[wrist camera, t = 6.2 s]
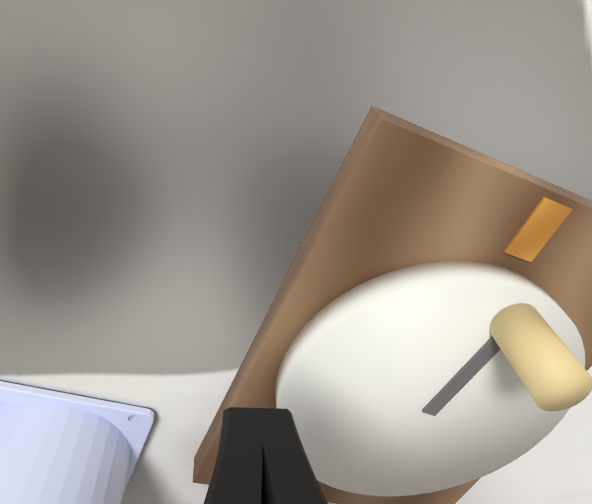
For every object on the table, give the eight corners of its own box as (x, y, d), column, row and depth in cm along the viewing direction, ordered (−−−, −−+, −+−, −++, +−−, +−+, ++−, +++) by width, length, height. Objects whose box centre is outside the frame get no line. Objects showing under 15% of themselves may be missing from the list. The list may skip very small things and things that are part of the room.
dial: (443, 490, 29) (479, 586, 24) (225, 436, 24) (223, 544, 20) (627, 324, 23) (718, 414, 18) (385, 208, 18) (432, 293, 14)
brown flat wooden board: (194, 457, 27) (192, 484, 26) (371, 105, 17) (383, 120, 16) (432, 495, 32) (440, 520, 30) (675, 236, 22) (703, 256, 21)
